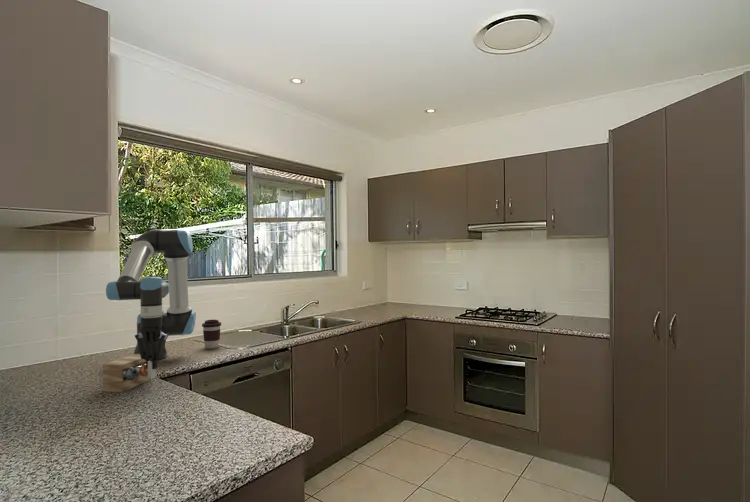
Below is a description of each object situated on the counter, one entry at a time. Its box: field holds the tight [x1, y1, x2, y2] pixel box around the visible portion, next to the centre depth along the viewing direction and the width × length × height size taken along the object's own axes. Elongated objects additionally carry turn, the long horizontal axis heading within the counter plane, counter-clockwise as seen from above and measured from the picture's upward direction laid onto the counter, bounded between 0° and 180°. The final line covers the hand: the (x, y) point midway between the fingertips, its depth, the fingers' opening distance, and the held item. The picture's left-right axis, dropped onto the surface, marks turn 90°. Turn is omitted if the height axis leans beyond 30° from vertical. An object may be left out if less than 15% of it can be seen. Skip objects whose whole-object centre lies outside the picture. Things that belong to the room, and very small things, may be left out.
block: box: [102, 354, 152, 393], centre depth 164 cm, size 16×8×10 cm, turn 171°
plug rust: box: [133, 364, 148, 376], centre depth 164 cm, size 5×13×5 cm, turn 81°
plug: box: [97, 368, 136, 380], centre depth 159 cm, size 5×13×5 cm, turn 81°
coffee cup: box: [201, 319, 222, 350], centre depth 232 cm, size 10×10×15 cm
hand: (151, 377), depth 163 cm, fingers closed
